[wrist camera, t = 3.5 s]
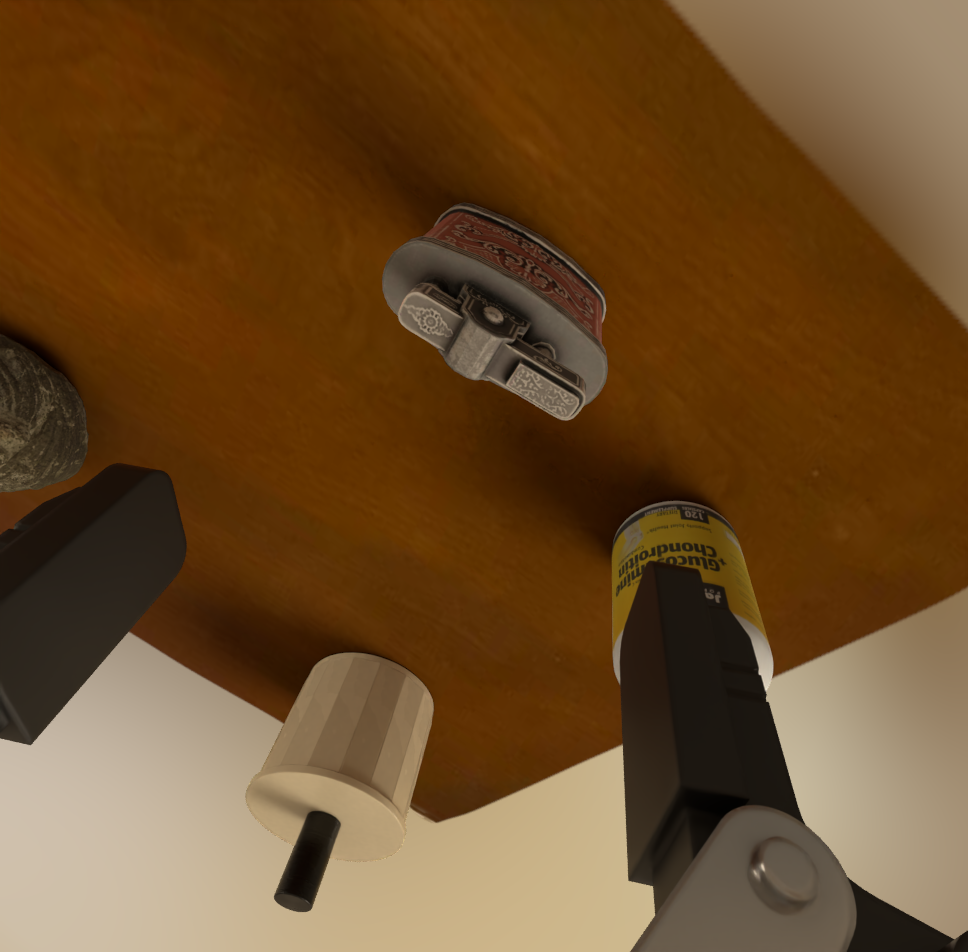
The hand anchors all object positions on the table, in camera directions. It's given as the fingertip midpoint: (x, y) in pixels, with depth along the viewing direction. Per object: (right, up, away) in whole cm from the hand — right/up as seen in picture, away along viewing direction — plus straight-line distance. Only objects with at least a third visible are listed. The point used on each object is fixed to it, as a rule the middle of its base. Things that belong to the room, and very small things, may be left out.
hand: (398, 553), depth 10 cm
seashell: (-26, +5, +25) cm, 36 cm away
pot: (-7, -15, +34) cm, 38 cm away
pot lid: (-8, -20, +27) cm, 34 cm away
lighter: (+3, +10, +16) cm, 19 cm away
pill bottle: (+12, -2, +22) cm, 25 cm away
